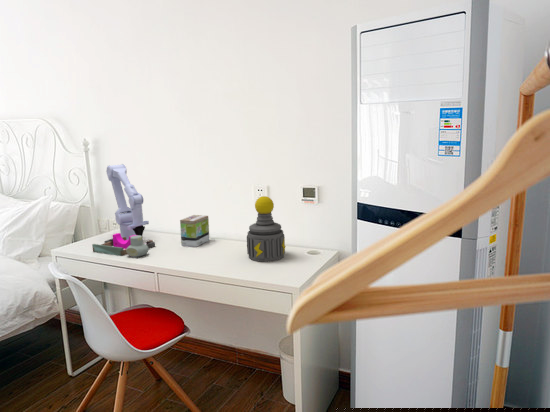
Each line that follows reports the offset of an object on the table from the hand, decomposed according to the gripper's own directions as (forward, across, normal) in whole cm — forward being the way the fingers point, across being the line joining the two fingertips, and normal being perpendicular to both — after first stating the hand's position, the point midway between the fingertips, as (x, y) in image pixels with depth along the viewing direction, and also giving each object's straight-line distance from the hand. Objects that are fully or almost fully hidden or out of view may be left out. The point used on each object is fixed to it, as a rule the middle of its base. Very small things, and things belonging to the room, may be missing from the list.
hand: (139, 239), depth 245 cm
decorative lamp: (+2, +2, -81) cm, 81 cm away
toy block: (+2, -10, -1) cm, 10 cm away
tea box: (+2, +10, -32) cm, 34 cm away
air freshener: (+2, -20, -18) cm, 27 cm away
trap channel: (+2, -12, 0) cm, 12 cm away
